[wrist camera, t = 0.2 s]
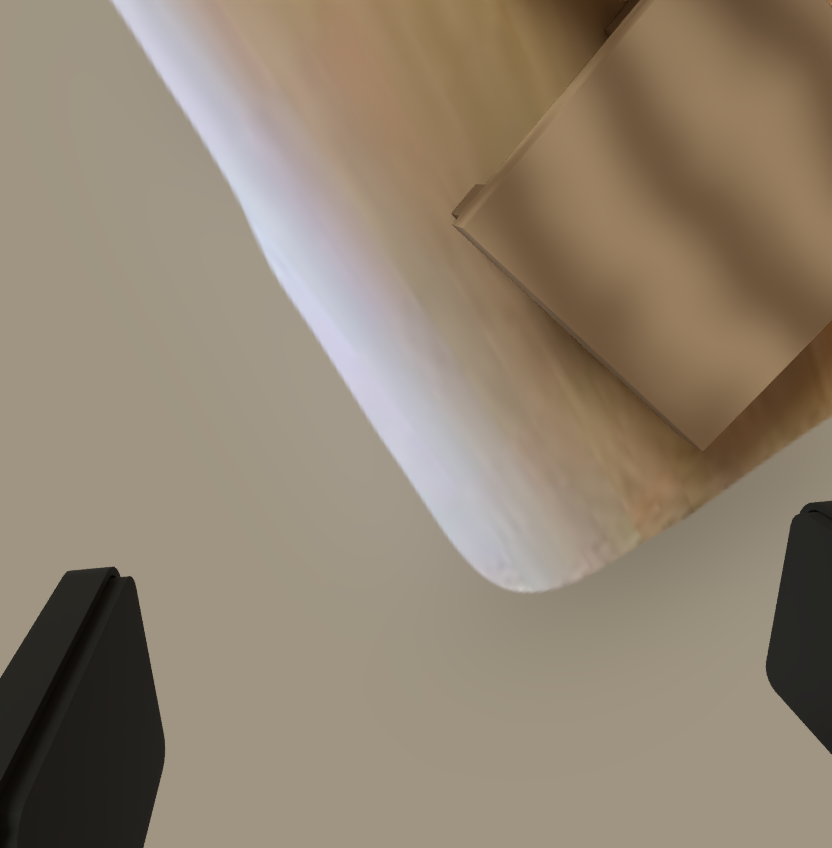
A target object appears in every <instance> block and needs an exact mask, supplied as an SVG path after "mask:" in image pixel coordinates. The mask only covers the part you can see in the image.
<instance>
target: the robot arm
mask: <svg viewBox="0 0 832 848" xmlns="http://www.w3.org/2000/svg"><path fill="white" fill-rule="evenodd" d="M766 672H767V676H768V679H769V682H770V684H771V686H772V687H773V689H774V690H775V692H776V693H777V694H778V695H779V696H780V697H781V698H782V699H783V700H784V702H785V703H786V704H787V705H788V706H789V707H790V708H791V709H792V710H793V712H794V713H795V714H796V715H797V716H798V717H799V718H800V720H802V722H803V723H804V724H805V725H806V726H807V727H808V728H809V730H810V731H811V732H812V733H813V734H814V735H815V736H816V737H817V739H818V740H819V741H820V742H821V743H822V744H823V745H824V746H825V747H826V749H827V750H828V751H829V752H830V753H831V754H832V501H825V502H814V503H809V504H807V505H805V506H804V507H803V509H802V510H801V511H800V514H798V515H796V516H795V517H794V518H793V520H792V523H791V526H790V533H789V538H788V543H787V549H786V554H785V560H784V565H783V571H782V577H781V582H780V588H779V593H778V599H777V604H776V610H775V616H774V621H773V627H772V632H771V638H770V643H769V649H768V655H767V660H766ZM164 758H165V740H164V733H163V728H162V722H161V717H160V712H159V706H158V701H157V696H156V690H155V685H154V680H153V674H152V670H151V664H150V658H149V653H148V648H147V642H146V637H145V632H144V627H143V621H142V616H141V611H140V606H139V600H138V595H137V589H136V585H135V582H134V580H133V578H132V577H131V576H128V577H120V574H119V572H118V570H117V569H116V568H115V567H105V568H95V569H83V570H73V571H67V572H66V573H65V575H64V576H63V577H62V579H61V581H60V582H59V584H58V585H57V587H56V589H55V590H54V592H53V594H52V595H51V597H50V598H49V600H48V602H47V604H46V605H45V607H44V608H43V610H42V611H41V613H40V615H39V616H38V618H37V620H36V621H35V623H34V625H33V626H32V628H31V629H30V631H29V633H28V634H27V636H26V638H25V639H24V641H23V642H22V644H21V646H20V647H19V649H18V650H17V652H16V654H15V655H14V657H13V658H12V660H11V662H10V663H9V665H8V667H7V668H6V670H5V671H4V673H3V675H2V676H1V678H0V848H143V847H144V843H145V839H146V835H147V831H148V827H149V823H150V819H151V814H152V811H153V807H154V802H155V798H156V795H157V791H158V786H159V783H160V778H161V774H162V770H163V766H164Z"/></svg>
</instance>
